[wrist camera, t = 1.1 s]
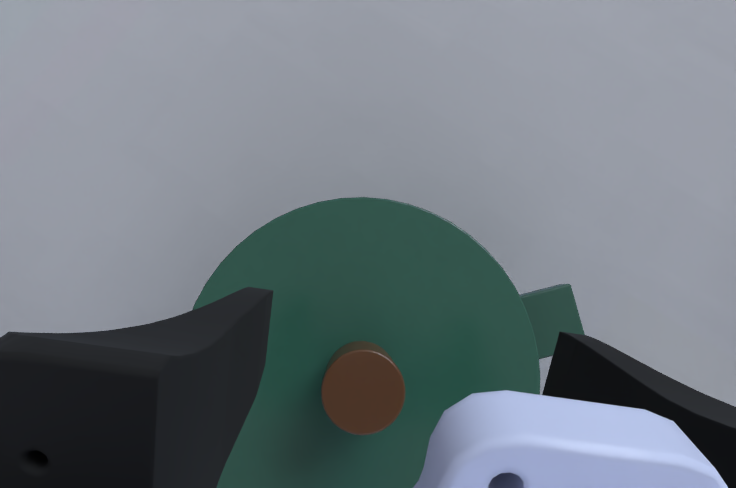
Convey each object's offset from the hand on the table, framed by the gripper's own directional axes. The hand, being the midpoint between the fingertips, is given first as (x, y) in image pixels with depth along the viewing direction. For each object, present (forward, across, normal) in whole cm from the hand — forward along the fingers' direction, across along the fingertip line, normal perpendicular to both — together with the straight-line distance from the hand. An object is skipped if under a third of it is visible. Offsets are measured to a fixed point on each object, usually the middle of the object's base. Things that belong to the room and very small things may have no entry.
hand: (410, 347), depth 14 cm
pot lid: (+5, +1, +4) cm, 6 cm away
